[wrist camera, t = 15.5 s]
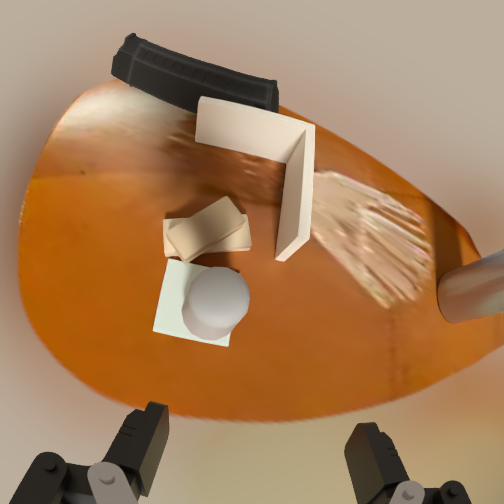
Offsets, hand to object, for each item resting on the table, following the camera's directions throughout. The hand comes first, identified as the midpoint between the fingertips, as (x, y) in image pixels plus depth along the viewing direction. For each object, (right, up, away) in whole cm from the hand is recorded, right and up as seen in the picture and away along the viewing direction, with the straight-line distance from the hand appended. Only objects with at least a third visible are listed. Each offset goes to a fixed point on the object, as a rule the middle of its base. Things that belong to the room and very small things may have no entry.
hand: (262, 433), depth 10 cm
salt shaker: (-5, +1, +21) cm, 21 cm away
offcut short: (-6, +10, +22) cm, 25 cm away
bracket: (-2, +15, +26) cm, 31 cm away
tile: (-7, +2, +21) cm, 22 cm away
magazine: (-11, +31, +30) cm, 45 cm away
